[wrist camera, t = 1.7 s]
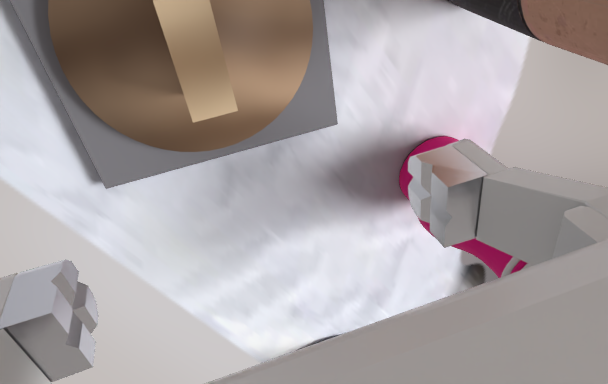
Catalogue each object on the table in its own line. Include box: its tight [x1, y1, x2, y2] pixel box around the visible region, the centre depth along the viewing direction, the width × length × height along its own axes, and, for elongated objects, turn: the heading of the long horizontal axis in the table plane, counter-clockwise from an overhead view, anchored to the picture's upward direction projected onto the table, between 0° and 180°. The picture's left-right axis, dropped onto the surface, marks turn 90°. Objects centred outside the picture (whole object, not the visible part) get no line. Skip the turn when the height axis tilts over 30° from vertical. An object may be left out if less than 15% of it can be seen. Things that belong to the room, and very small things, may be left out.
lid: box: [48, 0, 313, 152], centre depth 23 cm, size 14×14×5 cm
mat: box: [10, 0, 338, 189], centre depth 25 cm, size 16×16×1 cm
